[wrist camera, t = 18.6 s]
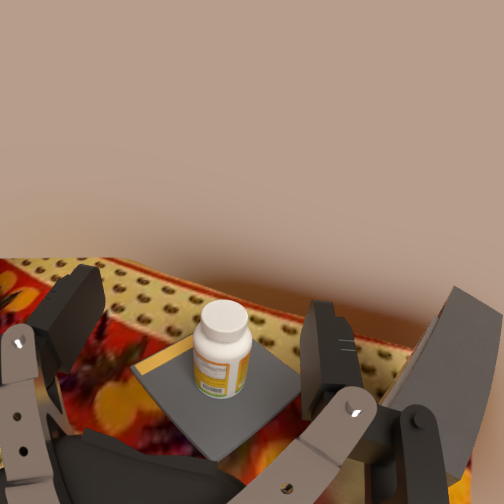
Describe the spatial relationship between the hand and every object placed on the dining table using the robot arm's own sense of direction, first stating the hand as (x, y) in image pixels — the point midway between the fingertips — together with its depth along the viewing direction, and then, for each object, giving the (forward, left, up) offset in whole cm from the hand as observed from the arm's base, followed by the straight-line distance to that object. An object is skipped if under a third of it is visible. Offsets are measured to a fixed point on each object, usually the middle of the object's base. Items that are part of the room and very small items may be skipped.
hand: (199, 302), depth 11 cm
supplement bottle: (-7, +8, -21) cm, 23 cm away
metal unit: (+11, +13, -22) cm, 28 cm away
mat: (-7, +8, -22) cm, 24 cm away
